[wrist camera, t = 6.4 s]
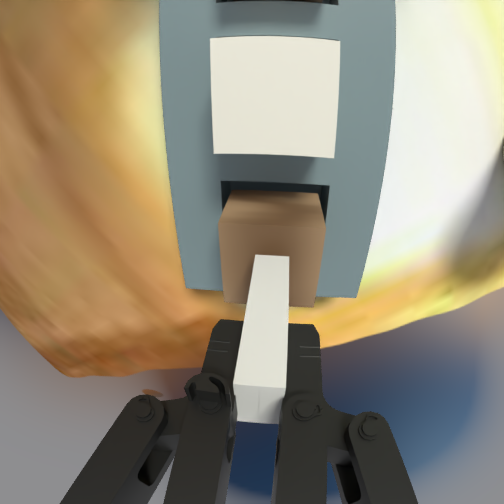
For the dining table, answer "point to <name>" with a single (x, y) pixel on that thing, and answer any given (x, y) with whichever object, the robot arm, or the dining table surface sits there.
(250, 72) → the cream key
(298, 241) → the walnut key
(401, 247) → the dining table surface
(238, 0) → the terracotta key
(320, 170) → the grey slotted tray
